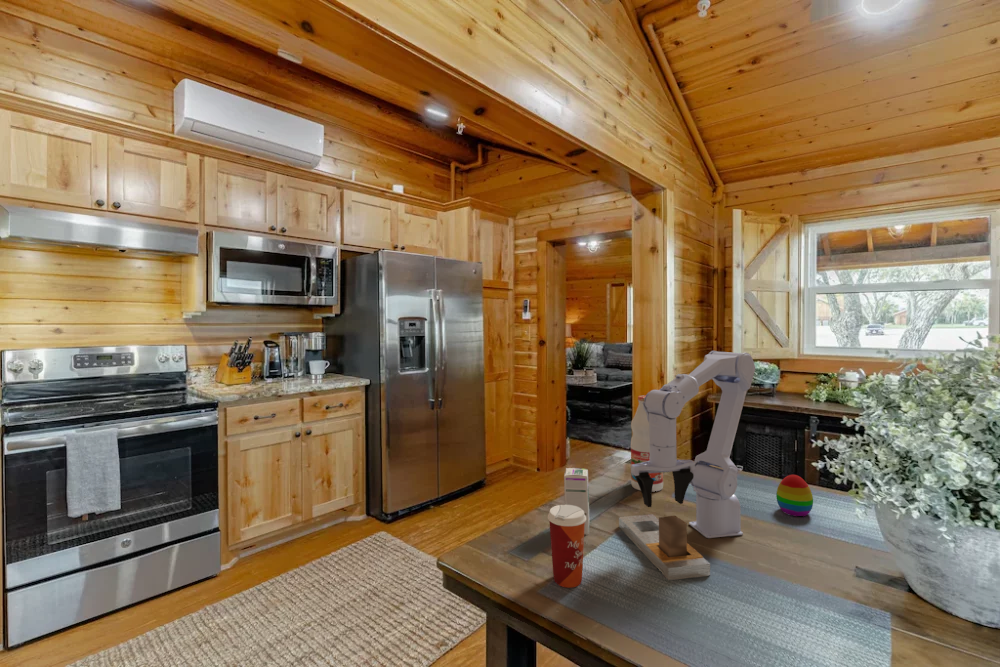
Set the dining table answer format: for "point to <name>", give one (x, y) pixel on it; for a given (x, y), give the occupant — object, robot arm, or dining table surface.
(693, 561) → the grey rail
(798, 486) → the decorative egg
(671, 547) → the walnut peg
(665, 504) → the dining table surface
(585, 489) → the syrup box
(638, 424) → the fruit juice
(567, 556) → the paper cup
